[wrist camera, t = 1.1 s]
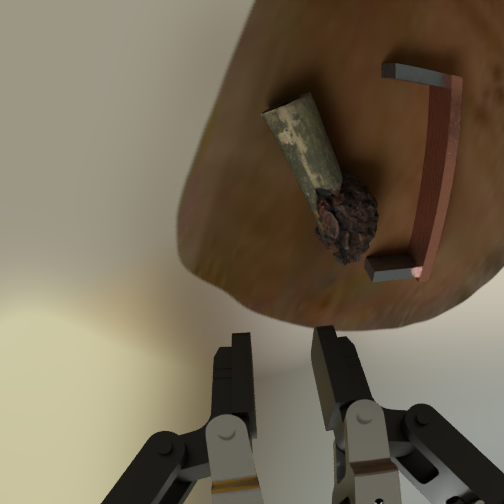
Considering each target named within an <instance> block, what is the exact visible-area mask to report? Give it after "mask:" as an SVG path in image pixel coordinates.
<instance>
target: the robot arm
mask: <svg viewBox="0 0 504 504" xmlns="http://www.w3.org/2000/svg"><path fill="white" fill-rule="evenodd" d="M250 337H251V336H250V332H248V333H233V334H232V347H220V348H219V349H218V351H217V353H216V354H215V356H214V363H213V384H212V407H211V416H210V418H209V421H208V422H207V423H206V425H204V426H203V427H202V428H200V429H198V430H196V431H193V432H190V433H186V434H182V435H177V434H175V433H173V432H169V431H161V432H157V433H155V434H153V435H152V436H151V437H150V438H149V439H148V440H147V442H146V443H145V444H144V446H143V447H142V449H141V450H140V452H139V453H138V454H137V456H136V457H135V459H134V460H133V461H132V462H131V464H130V465H129V467H128V468H127V469H126V471H125V472H124V473H123V475H122V476H121V477H120V479H119V480H118V482H117V483H116V484H115V486H114V487H113V488H112V490H111V491H110V492H109V494H108V495H107V496H106V498H105V499H104V500H103V502H102V503H101V504H183V503H184V501H185V500H186V498H187V497H188V495H189V493H190V492H191V490H192V488H193V487H194V485H195V484H196V482H197V480H198V479H201V478H206V477H209V476H211V478H212V488H211V493H212V501H213V504H264V503H263V498H262V493H261V489H260V485H259V481H258V478H257V474H256V469H255V464H254V460H253V456H252V438H253V439H254V438H257V427H256V411H255V394H254V377H253V361H252V348H251V338H250ZM311 361H312V367H313V371H314V376H315V380H316V385H317V390H318V395H319V399H320V404H321V409H322V414H323V419H324V424H325V429H326V431H329V430H333V431H334V436H335V440H334V443H333V450H334V489H333V494H332V504H374V502H376V503H377V504H402V502H401V491H400V481H399V472H398V470H399V471H400V472H401V473H402V474H403V475H404V476H405V477H406V478H407V479H408V480H409V481H410V482H411V483H412V484H413V485H414V486H415V487H416V488H417V489H418V490H419V491H420V492H421V493H422V494H423V495H424V496H425V497H426V498H427V499H428V500H429V501H430V502H431V503H432V504H504V473H503V472H502V471H500V470H499V469H498V468H497V467H496V466H495V465H494V464H493V463H492V462H491V461H490V460H489V459H488V458H486V456H484V455H483V454H482V453H481V452H480V451H479V450H478V449H477V448H476V447H475V446H474V445H473V444H472V443H471V442H469V441H468V440H467V439H466V438H465V437H464V436H463V435H462V434H460V432H458V430H457V429H455V428H454V427H453V426H452V425H451V424H450V423H449V422H448V421H447V420H446V419H445V418H443V416H441V415H440V414H439V413H438V412H437V411H436V410H435V409H434V408H433V407H431V406H429V405H427V404H416V405H414V406H412V407H411V408H410V409H409V410H408V411H405V410H391V409H386V408H383V407H381V406H379V404H377V403H376V402H375V401H374V399H373V398H372V395H371V392H370V389H369V386H368V383H367V380H366V377H365V374H364V371H363V369H362V366H361V363H360V360H359V358H358V354H357V351H356V348H355V346H354V344H353V343H352V342H351V341H350V340H349V339H348V338H347V337H346V336H345V337H337V335H336V332H335V329H334V326H333V325H329V326H320V327H314V332H313V340H312V348H311Z"/></svg>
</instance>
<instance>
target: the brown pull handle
mask: <svg viewBox="0 0 504 504" xmlns="http://www.w3.org/2000/svg"><path fill="white" fill-rule="evenodd" d="M382 77H383V78H390V79H397V80H403V81H409V82H415V83H420V84H425V85H430V95H429V116H428V129H427V141H426V150H425V159H424V167H423V175H422V182H421V188H420V194H419V200H418V206H417V212H416V217H415V222H414V227H413V232H412V236H411V241H410V245H409V250H408V254H402V255H390V256H378V257H366V261H365V267H364V268H365V270H366V271H367V273H368V275H369V277H370V279H371V280H372V282H379V281H388V280H397V279H405V278H414V277H415V278H416V280H417V281H418V282H424V281H428V280H429V276H430V273H431V270H432V267H433V263H434V260H435V256H436V253H437V249H438V245H439V242H440V238H441V234H442V230H443V226H444V222H445V217H446V213H447V208H448V203H449V198H450V193H451V188H452V182H453V177H454V170H455V164H456V157H457V149H458V141H459V132H460V121H461V107H462V84H463V78H462V77H458V76H455V75H450V74H444V73H440V72H436V71H432V70H427V69H423V68H418V67H414V66H409V65H403V64H398V63H382Z"/></svg>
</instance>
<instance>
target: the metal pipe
mask: <svg viewBox="0 0 504 504" xmlns="http://www.w3.org/2000/svg"><path fill="white" fill-rule="evenodd" d="M261 116H262V117H263V118H264V120H265V121H266V123H267V125H268V127H269V128H270V130H271V132H272V134H273V135H274V137H275V139H276V141H277V143H278V145H279V146H280V148H281V150H282V152H283V154H284V156H285V158H286V160H287V162H288V164H289V165H290V167H291V169H292V171H293V173H294V175H295V177H296V179H297V181H298V183H299V185H300V187H301V189H302V191H303V193H304V195H305V197H306V199H307V201H308V204H309V206H310V208H311V210H312V213H313V215H314V217H315V220H316V223H317V228H316V229H315V234H316V236H317V238H318V239H319V240H320V241H321V242H322V244H323V245H324V246H325V248H326V249H330V250H331V252H332V253H333V255H334V259H335V260H337V261H339V263H340V264H341V265H342V266H344V265H346V264H347V262H348V263H349V264H350V262H356V261H359V260H360V259H361V254H363V253H365V252H366V251H367V250H368V249H369V242H370V241H371V240H372V239H373V238H374V237H375V234H376V230H377V222H378V217H379V215H378V214H377V202H376V199H375V198H374V197H373V196H372V195H371V193H370V191H369V187H368V186H367V185H366V184H365V182H364V181H363V180H361V179H359V178H358V177H355V176H354V175H353V174H351V173H350V172H347V171H341V170H340V167H339V164H338V161H337V159H336V156H335V153H334V151H333V148H332V146H331V143H330V141H329V138H328V136H327V133H326V130H325V128H324V125H323V122H322V119H321V117H320V114H319V111H318V109H317V106H316V104H315V102H314V99H313V97H312V94H311V92H308V93H304V94H301V95H299V96H295V97H293V98H290V99H287V100H285V101H283V102H281V103H279V104H276V105H274V106H272V107H270V108H269V109H267V110H265V111H264V112H263V113H261Z"/></svg>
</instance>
